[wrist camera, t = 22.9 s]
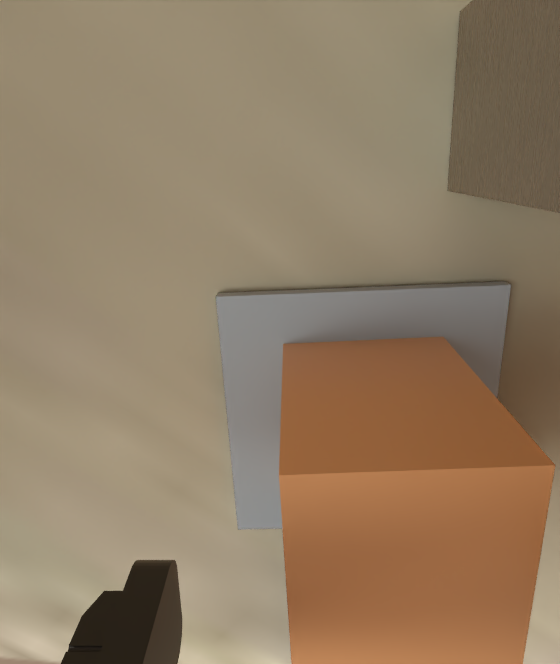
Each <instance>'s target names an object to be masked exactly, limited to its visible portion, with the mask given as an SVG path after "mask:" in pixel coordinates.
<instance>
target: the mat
mask: <svg viewBox="0 0 560 664" xmlns="http://www.w3.org/2000/svg"><path fill="white" fill-rule="evenodd" d="M510 289H511V285H510V284H508V283H507V282H505V281H501V282H476V283H452V284H427V285H402V286H378V287H353V288H328V289H304V290H279V291H254V292H230V293H218V294H217V295H216V305H217V315H218V326H219V336H220V347H221V357H222V368H223V378H224V389H225V399H226V410H227V420H228V430H229V441H230V451H231V462H232V472H233V483H234V493H235V504H236V514H237V525H238V529H278V528H282V514H281V499H280V484H279V456H280V425H281V394H282V362H283V344H290V343H312V342H334V341H356V340H377V339H399V338H421V337H444V338H445V339H446V340H447V341H448V343H449V344H450V345H451V346H452V347H453V348H454V349H455V351H456V352H457V353H458V354H459V355H460V356H461V358H462V359H463V360H464V361H465V362H466V363H467V364H468V366H469V367H470V368H471V369H472V370H473V371H474V372H475V374H476V375H477V376H478V377H479V378H480V379H481V381H482V382H483V383H484V384H485V385H486V386H487V387H488V389H489V390H490V391H491V392H492V393H493V394H494V395H495V397H496V398H497V397H498V388H499V380H500V372H501V363H502V355H503V347H504V339H505V330H506V322H507V314H508V306H509V297H510Z"/></svg>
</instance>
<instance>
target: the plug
mask: <svg viewBox="0 0 560 664" xmlns="http://www.w3.org/2000/svg"><path fill="white" fill-rule="evenodd" d="M554 470H555V464H554V463H553V462H552V461H551V460H550V459H549V458H548V456H547V455H546V454H545V453H544V452H543V451H542V450H541V448H540V447H539V446H538V445H537V444H536V443H535V441H534V440H533V439H532V438H531V437H530V436H529V435H528V433H527V432H526V431H525V430H524V429H523V428H522V427H521V425H520V424H519V423H518V422H517V421H516V420H515V418H514V417H513V416H512V415H511V414H510V413H509V412H508V410H507V409H506V408H505V407H504V406H503V405H502V404H501V402H500V401H499V400H498V399H497V398H496V397H495V395H494V394H493V393H492V392H491V391H490V390H489V389H488V387H487V386H486V385H485V384H484V383H483V382H482V381H481V379H480V378H479V377H478V376H477V375H476V374H475V372H474V371H473V370H472V369H471V368H470V367H469V366H468V364H467V363H466V362H465V361H464V360H463V359H462V358H461V356H460V355H459V354H458V353H457V352H456V351H455V349H454V348H453V347H452V346H451V345H450V344H449V343H448V341H447V340H446V339H445V338H444V337H421V338H399V339H377V340H356V341H334V342H312V343H290V344H283V362H282V394H281V425H280V456H279V484H280V499H281V514H282V528H283V543H284V558H285V573H286V587H287V602H288V617H289V632H290V646H291V661H292V664H523V658H524V652H525V646H526V640H527V634H528V628H529V621H530V615H531V609H532V603H533V597H534V591H535V585H536V579H537V573H538V567H539V561H540V555H541V549H542V543H543V537H544V530H545V524H546V518H547V512H548V506H549V500H550V494H551V488H552V482H553V476H554Z"/></svg>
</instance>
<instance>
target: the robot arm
mask: <svg viewBox="0 0 560 664" xmlns="http://www.w3.org/2000/svg"><path fill="white" fill-rule="evenodd" d="M181 637H182V612H181V602H180V592H179V582H178V572H177V565H176V561H175V560H137V561H135V563H134V564H133V566H132V568H131V571H130V574H129V576H128V579H127V582H126V584H125V587H124V590H123V591H104V592H103V593H102V594H101V595H100V596H99V597H98V599H97V600H96V601H95V602H94V603H93V604H92V605H91V606H90V607H89V609H88V610H87V611H86V612H85V613H84V614H83V615H82V617H81V619H80V622H79V624H78V626H77V628H76V631H75V633H74V635H73V637H72V640H71V642H70V644H69V649H68V652H66V653H65V655H64V658H63V660H62V662H61V664H177V663H178V658H179V653H180V646H181Z"/></svg>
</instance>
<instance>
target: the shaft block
mask: <svg viewBox="0 0 560 664" xmlns="http://www.w3.org/2000/svg"><path fill="white" fill-rule="evenodd" d="M447 191H452V192H457V193H462V194H467V195H472V196H477V197H482V198H488V199H493V200H498V201H503V202H508V203H513V204H518V205H523V206H528V207H533V208H538V209H543V210H548V211H553V212H558V213H560V0H473V1H472V2H470V3H469V4H468V5H467V6H466V7H465V8H463V9H462V10H461V11H460V18H459V33H458V47H457V61H456V76H455V90H454V104H453V119H452V133H451V147H450V162H449V176H448V190H447Z"/></svg>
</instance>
